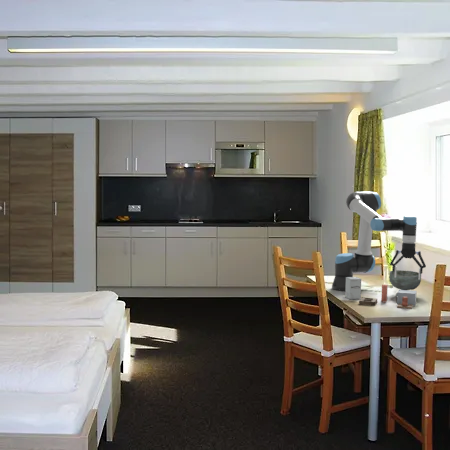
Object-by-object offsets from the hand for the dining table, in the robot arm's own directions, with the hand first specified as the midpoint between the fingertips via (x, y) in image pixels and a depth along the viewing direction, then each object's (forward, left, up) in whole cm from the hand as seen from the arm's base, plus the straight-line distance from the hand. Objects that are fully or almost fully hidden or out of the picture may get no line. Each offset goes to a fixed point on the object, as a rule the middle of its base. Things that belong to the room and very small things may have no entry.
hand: (407, 278), depth 371 cm
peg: (0, -13, -15) cm, 20 cm away
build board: (+10, -21, -15) cm, 27 cm away
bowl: (-23, -3, -15) cm, 27 cm away
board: (+11, 0, -15) cm, 19 cm away
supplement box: (-3, -32, -15) cm, 35 cm away
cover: (0, 0, -15) cm, 15 cm away
